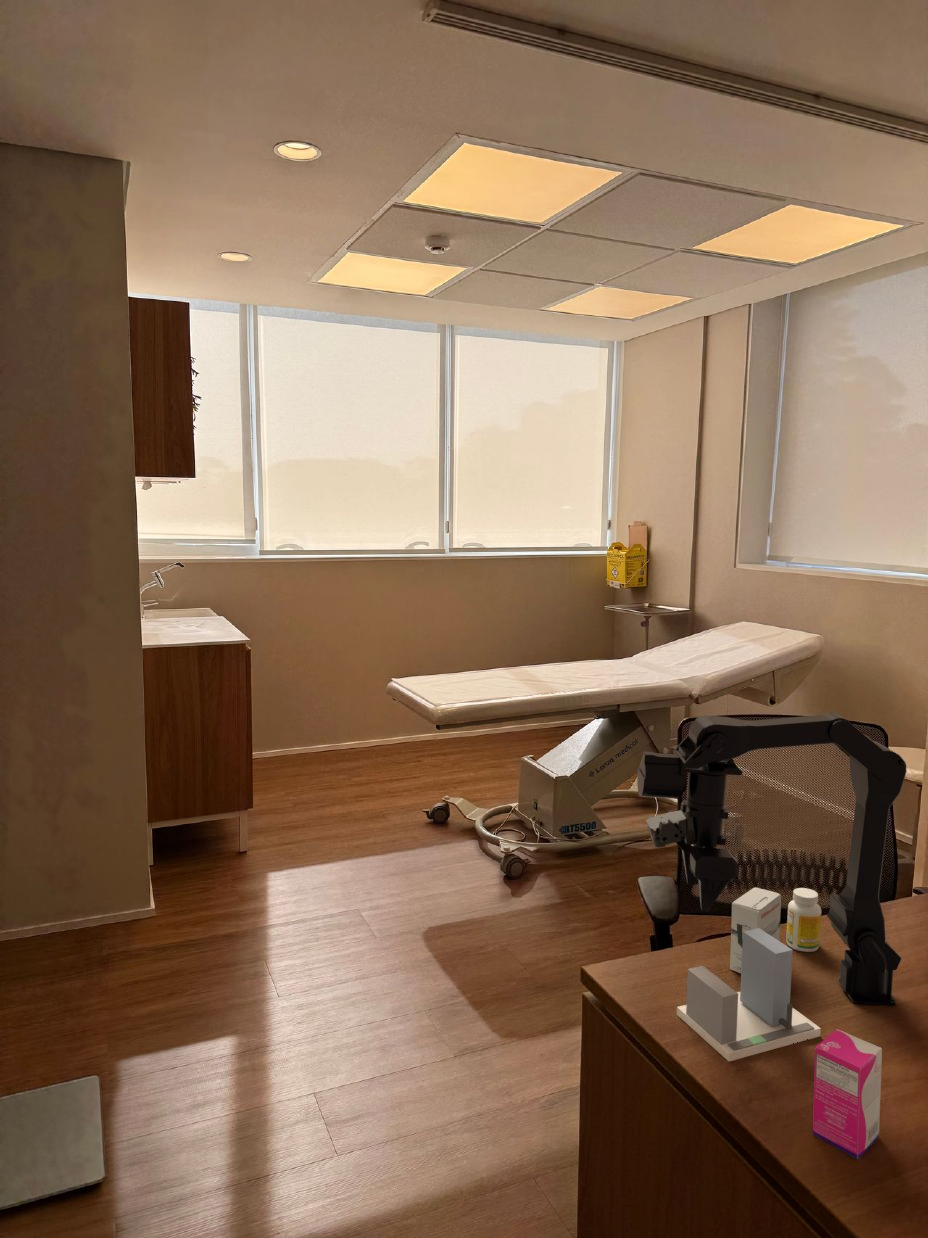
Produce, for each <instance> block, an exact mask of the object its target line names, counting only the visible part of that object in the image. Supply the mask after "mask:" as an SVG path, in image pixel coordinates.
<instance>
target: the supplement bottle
mask: <svg viewBox="0 0 928 1238" xmlns="http://www.w3.org/2000/svg"><path fill="white" fill-rule="evenodd" d="M792 893H793V894H792V900H791V901H790V902H789V903H788V905H787V920H786V935H785V937H786V939H785V940H786V944H787V945H788V947H789V948H790V949H792V950H796V951H799V952H806V953H812V952H816V951H817V950H818V949H820V942H821V939H820V938H821V937H820V936H821V922H822V908H821V906H820V905H819V904H818V902H819V894H818V892H817V891H815V890H814V889H810V888H805V887H798V888H795V889H793V891H792Z"/></svg>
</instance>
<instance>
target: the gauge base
mask: <svg viewBox="0 0 928 1238" xmlns="http://www.w3.org/2000/svg"><path fill="white" fill-rule="evenodd" d="M686 984H687V985H686V1004H683V1005H680V1006H679V1005H678V1006H677V1007H676V1016H678V1017H679V1018H680V1019H681V1020H682V1021H683V1022H684V1023H686V1025H687V1026H689V1027H690V1028H691V1029H692V1030H693V1031H694V1032H695V1033H697V1035H699V1036H700V1037H701V1038H702V1039H703V1040H704V1041H705V1042H707V1043H708V1044H709V1046H711V1047H712V1048H713V1049H714V1050H715V1051H717V1052H718V1054H719V1055H721V1056H722V1057H723V1058H724V1059H725V1060H726V1061H727V1062H732V1061H736V1060H740V1059H743V1058H746V1057H750V1056H754V1055H758V1054H762V1053H765V1052H768V1051H772V1050H775V1049H779V1048H783V1047H787V1046H790V1045H794V1044H797V1042H798V1043H800V1042H803V1041H808V1040H812V1039H815V1038H819V1037H821V1032H822V1031H821V1029H822V1028H821V1027H820V1026H818V1025H817V1024H815V1023H814V1022H813V1021H812V1020H810V1019H809V1018H808V1017H806V1016H805V1015H803V1013H801V1012H799V1011H798V1010H797V1009H795V1008H794V1007H793V1006H792V1029H791V1030H788V1029H786V1028H785V1027H784V1026H783V1025H781V1024H780V1025H776V1026H771V1025H770V1024H769V1023H767V1022H766V1021H765V1020H763V1019H762V1018H761V1017H760V1016H758V1015H757V1014H756V1013H755V1012H753V1011H752V1010H751V1009H750V1008H748V1007H747V1006H746V1005H745V1004H743V1003H742V1002H741V1001H740V991H736V990H735V989H733V988H732V987H731V986H729V985H728V984H726V983H725V982H724V981H723V980H722V979H720V978H719V977H718V976H717V975H715V974H714V973H713V972H712V971H711V970H709V969H708V968H706V967H705V966H704V965H699V966H696V967H695V966H694V967H691V968H688V969H687V983H686ZM807 1039H808V1040H807ZM793 1043H794V1044H793Z"/></svg>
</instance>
